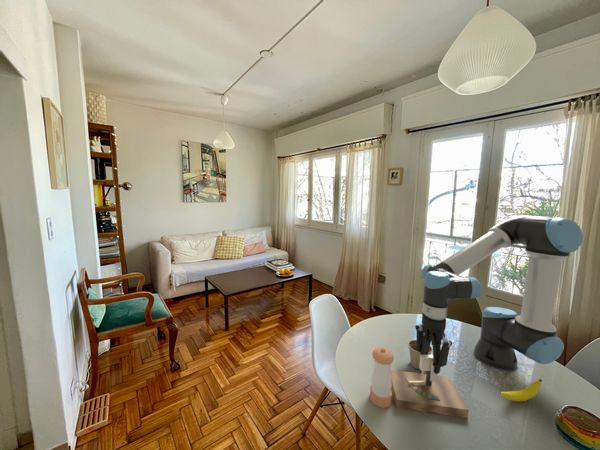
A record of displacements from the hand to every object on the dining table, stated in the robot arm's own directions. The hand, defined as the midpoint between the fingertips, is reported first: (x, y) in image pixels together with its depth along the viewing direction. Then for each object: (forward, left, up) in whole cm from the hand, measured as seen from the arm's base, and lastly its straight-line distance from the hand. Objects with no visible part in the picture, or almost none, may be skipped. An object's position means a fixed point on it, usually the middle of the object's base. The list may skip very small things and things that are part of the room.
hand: (429, 376), depth 90 cm
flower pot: (-1, -15, -6) cm, 16 cm away
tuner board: (+2, +2, -6) cm, 7 cm away
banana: (-31, -2, -6) cm, 32 cm away
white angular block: (+2, 0, -3) cm, 3 cm away
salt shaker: (+18, +7, -6) cm, 20 cm away
